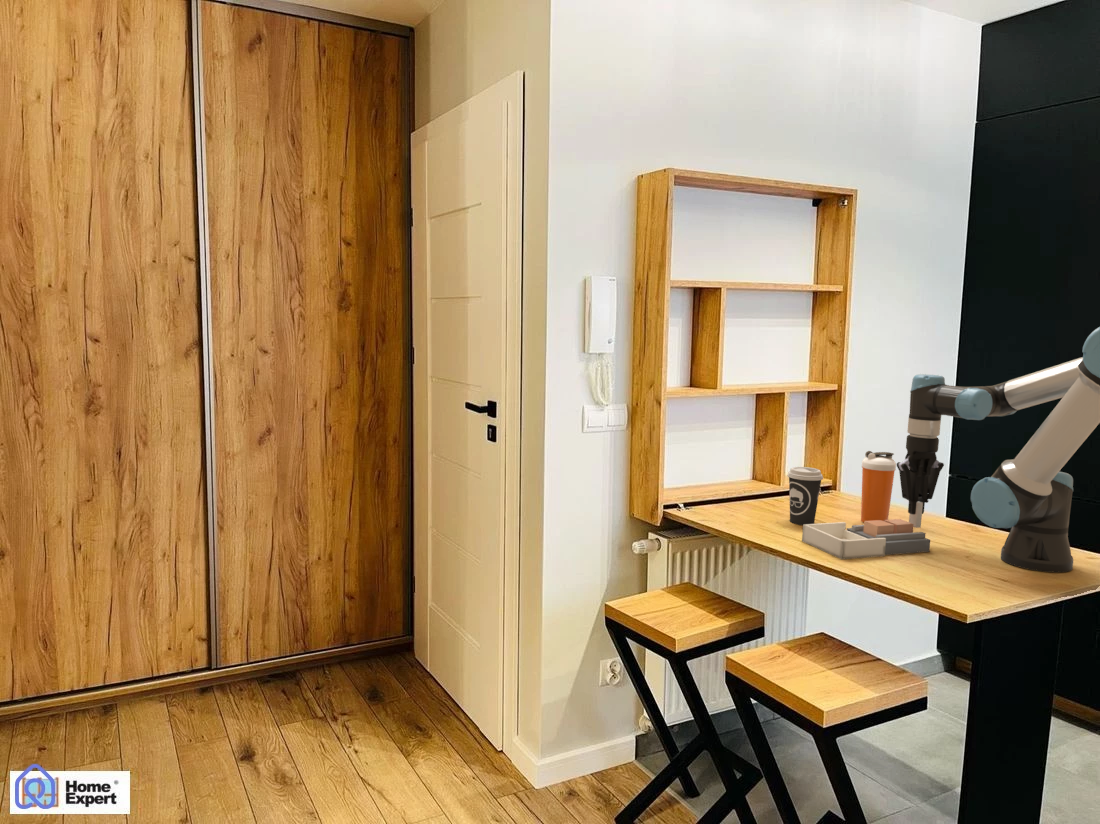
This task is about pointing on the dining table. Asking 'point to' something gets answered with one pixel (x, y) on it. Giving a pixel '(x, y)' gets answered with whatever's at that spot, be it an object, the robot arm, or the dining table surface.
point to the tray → (842, 541)
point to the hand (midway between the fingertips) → (914, 526)
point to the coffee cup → (804, 494)
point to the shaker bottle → (877, 485)
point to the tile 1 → (877, 528)
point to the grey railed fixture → (898, 541)
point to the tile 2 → (901, 526)
